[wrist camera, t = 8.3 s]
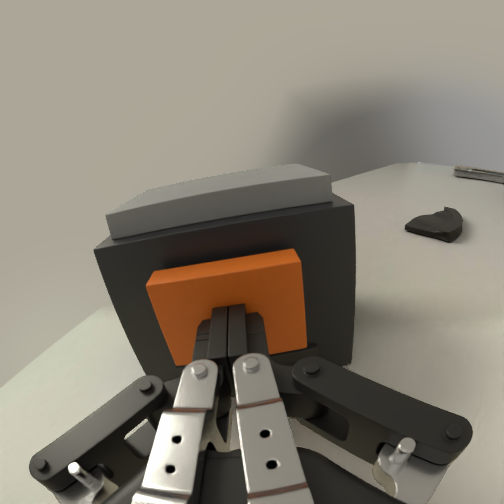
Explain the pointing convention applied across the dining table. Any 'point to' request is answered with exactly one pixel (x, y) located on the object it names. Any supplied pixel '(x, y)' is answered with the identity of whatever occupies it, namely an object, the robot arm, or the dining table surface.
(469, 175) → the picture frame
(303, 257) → the dark grey box
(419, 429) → the robot arm
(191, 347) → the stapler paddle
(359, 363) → the dining table surface
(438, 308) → the dining table surface
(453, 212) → the dark sector wedge
